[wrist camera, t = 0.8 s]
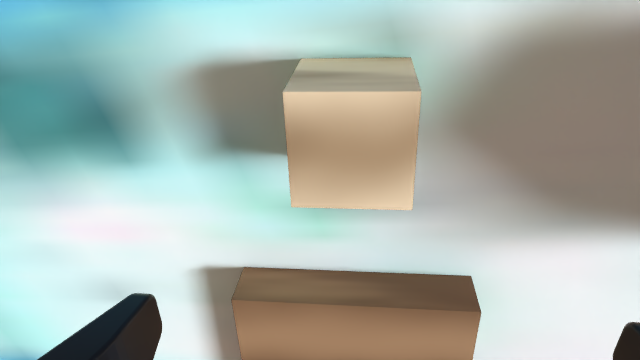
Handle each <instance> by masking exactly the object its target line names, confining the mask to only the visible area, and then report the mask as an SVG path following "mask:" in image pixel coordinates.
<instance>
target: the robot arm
mask: <svg viewBox="0 0 640 360" xmlns="http://www.w3.org/2000/svg"><path fill="white" fill-rule="evenodd" d="M161 333H162V321H161V317H160V314H159V310H158V306H157V302H156V299H155V297H154V296H153V295H151V294H142V293H134V294H131V295H129V296H128V297H126V298H125V299H123V300H122V301H121V302H119V303H118V304H116V305H115V306H113V307H112V308H111V309H109V310H108V311H106V312H105V313H103V314H102V315H100V316H99V317H98V318H96V319H95V320H93V321H92V322H90V323H89V324H88V325H86V326H85V327H83V328H82V329H80V330H79V331H77V332H76V333H75V334H73V335H72V336H70V337H69V338H67V339H66V340H65V341H63V342H62V343H60V344H59V345H57V346H56V347H54V348H53V349H52V350H50V351H49V352H47V353H46V354H44V355H43V356H42V357H40V358H39V359H37V360H153V358H154V355H155V352H156V349H157V346H158V343H159V340H160V337H161ZM613 360H640V323H639V322H630V323H628V324H626V325H625V327H624V329H623V331H622V333H621V336H620V338H619V340H618V343H617V345H616V347H615V350H614V353H613Z"/></svg>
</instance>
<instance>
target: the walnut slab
mask: <svg viewBox="0 0 640 360" xmlns="http://www.w3.org/2000/svg"><path fill="white" fill-rule="evenodd" d="M231 301H232V306H233V312H234V318H235V324H236V330H237V335H238V341H239V347H240V353H241V359H242V360H472V359H473V354H474V348H475V343H476V338H477V332H478V327H479V321H480V316H481V310H480V306H479V303H478V299H477V296H476V292H475V289H474V285H473V281H472V278H471V276H455V275H430V274H405V273H380V272H354V271H329V270H304V269H279V268H253V267H244V269H243V271H242V274H241V276H240V279H239V282H238V284H237V287H236V289H235V292H234V294H233V297H232V300H231Z"/></svg>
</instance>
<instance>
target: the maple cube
mask: <svg viewBox="0 0 640 360" xmlns="http://www.w3.org/2000/svg"><path fill="white" fill-rule="evenodd" d="M420 101H421V89H420V86H419V82H418V79H417V76H416V73H415V69H414V66H413V63H412V59H411V58H315V59H301V60H300V61H299V63H298V65H297V67H296V69H295V70H294V72H293V74H292V76H291V78H290V79H289V81H288V83H287V85H286V87H285V88H284V90H283V104H284V117H285V130H286V143H287V156H288V169H289V182H290V195H291V207H306V208H346V209H386V210H412V207H413V194H414V180H415V167H416V154H417V141H418V127H419V114H420Z"/></svg>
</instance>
